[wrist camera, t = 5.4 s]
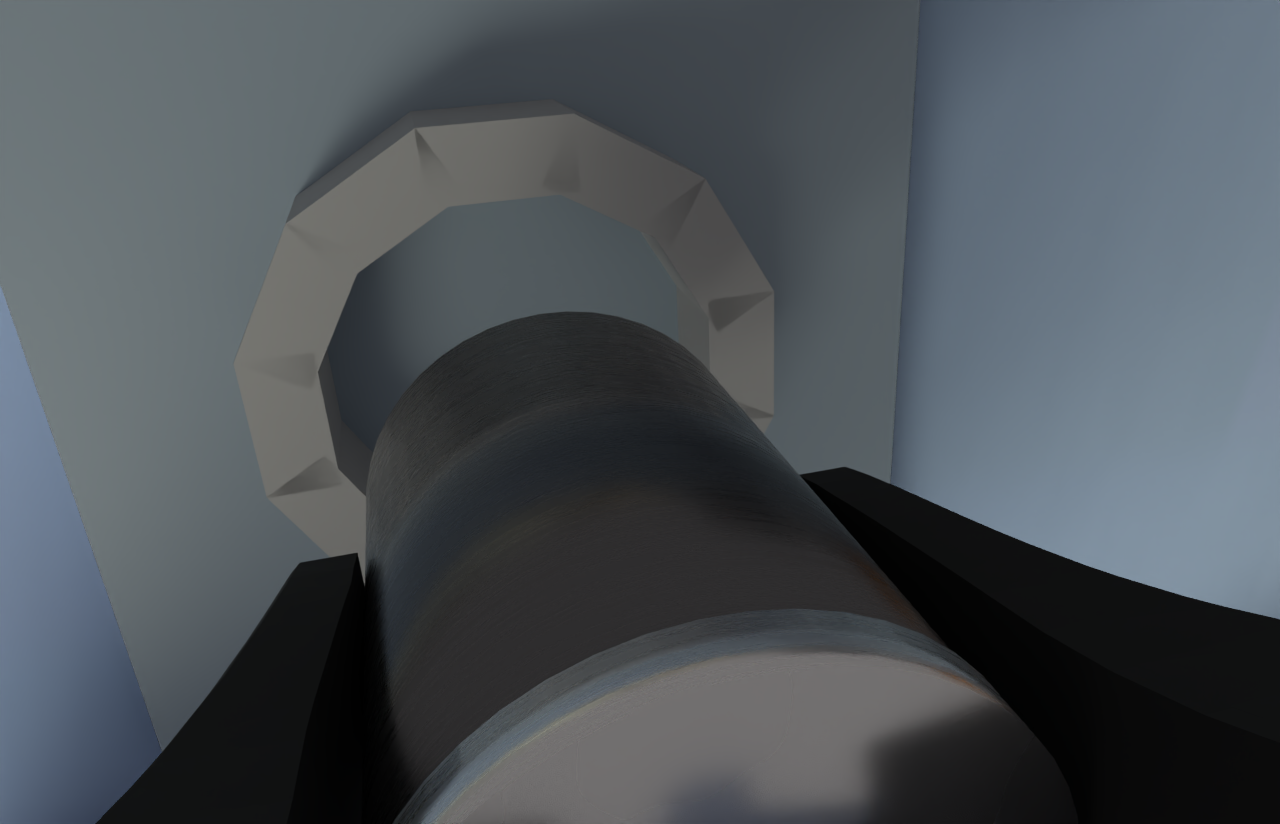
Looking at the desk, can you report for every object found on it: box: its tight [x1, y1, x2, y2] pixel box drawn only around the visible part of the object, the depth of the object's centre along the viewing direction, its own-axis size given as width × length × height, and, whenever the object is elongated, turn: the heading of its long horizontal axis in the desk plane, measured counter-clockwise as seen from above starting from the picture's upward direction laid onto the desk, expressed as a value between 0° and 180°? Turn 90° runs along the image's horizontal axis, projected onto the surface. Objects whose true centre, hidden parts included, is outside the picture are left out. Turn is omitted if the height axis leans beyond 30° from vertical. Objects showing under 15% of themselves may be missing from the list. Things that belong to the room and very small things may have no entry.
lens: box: [362, 311, 1078, 824], centre depth 10 cm, size 5×5×7 cm
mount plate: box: [0, 0, 920, 752], centre depth 18 cm, size 18×16×4 cm
